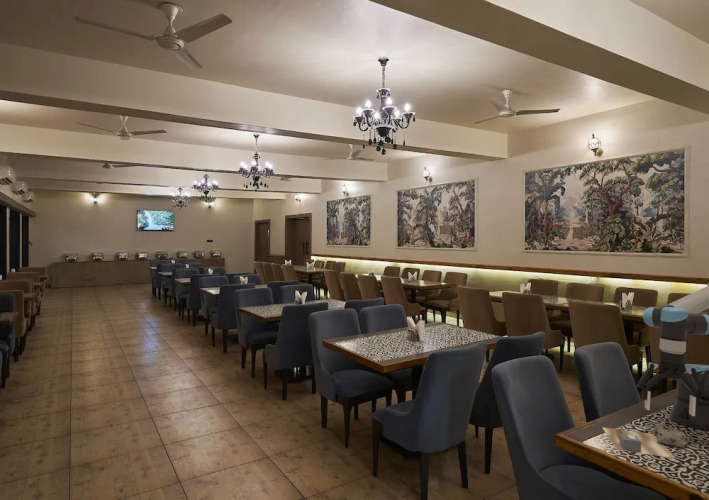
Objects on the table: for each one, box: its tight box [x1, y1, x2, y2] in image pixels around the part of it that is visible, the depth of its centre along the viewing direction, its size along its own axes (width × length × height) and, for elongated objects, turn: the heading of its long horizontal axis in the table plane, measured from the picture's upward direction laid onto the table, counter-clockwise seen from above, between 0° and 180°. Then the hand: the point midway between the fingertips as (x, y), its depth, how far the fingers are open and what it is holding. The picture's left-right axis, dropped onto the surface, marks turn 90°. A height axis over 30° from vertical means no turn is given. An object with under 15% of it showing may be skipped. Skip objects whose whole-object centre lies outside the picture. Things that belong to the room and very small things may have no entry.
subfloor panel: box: [601, 426, 677, 459], centre depth 155 cm, size 17×20×1 cm
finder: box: [619, 434, 641, 453], centre depth 149 cm, size 5×5×4 cm
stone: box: [651, 423, 687, 449], centre depth 157 cm, size 13×6×10 cm
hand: (669, 412), depth 156 cm, fingers open, 13 cm apart
